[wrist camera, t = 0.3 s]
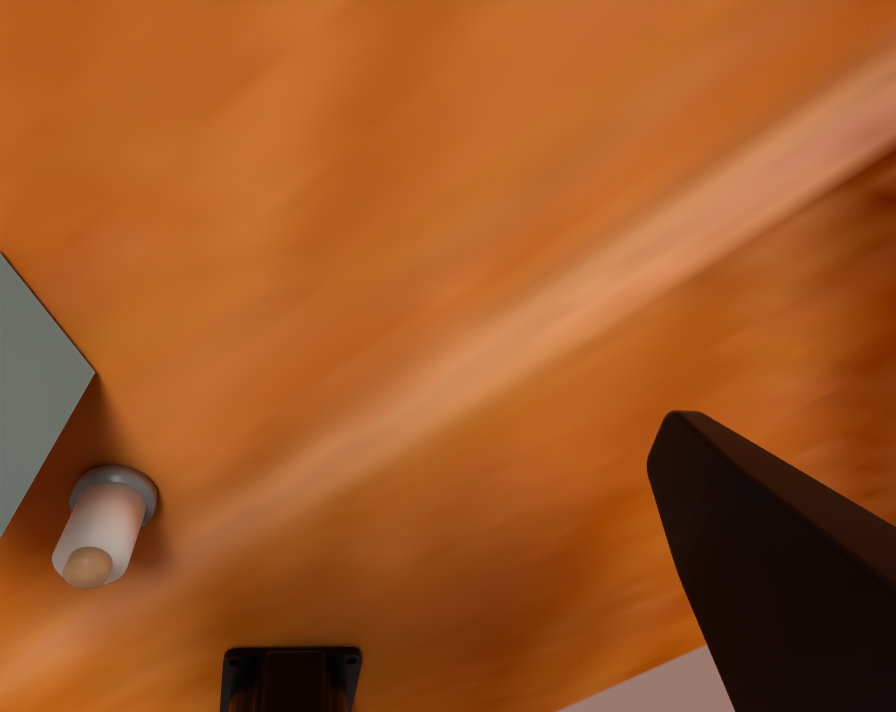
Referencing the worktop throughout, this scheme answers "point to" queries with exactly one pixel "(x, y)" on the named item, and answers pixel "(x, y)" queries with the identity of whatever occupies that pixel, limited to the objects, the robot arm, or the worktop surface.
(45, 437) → the pale teal block
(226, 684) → the robot arm
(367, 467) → the worktop surface
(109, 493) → the post
